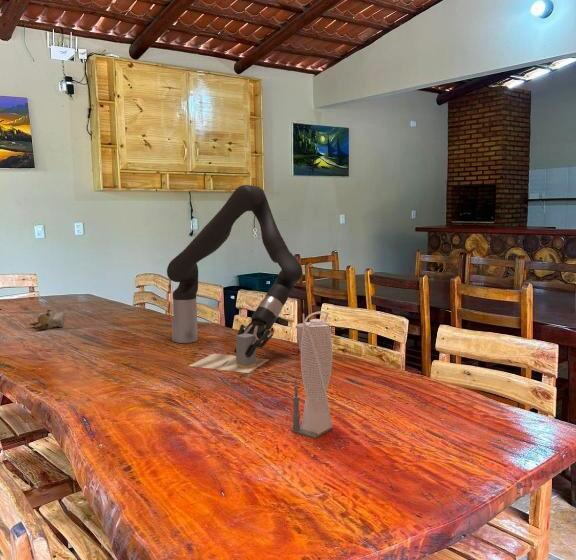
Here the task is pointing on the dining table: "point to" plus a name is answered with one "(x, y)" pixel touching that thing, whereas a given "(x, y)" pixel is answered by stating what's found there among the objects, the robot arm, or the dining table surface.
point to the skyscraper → (314, 378)
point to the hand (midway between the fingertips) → (241, 354)
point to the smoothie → (300, 333)
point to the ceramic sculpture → (49, 320)
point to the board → (226, 364)
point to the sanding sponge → (241, 347)
